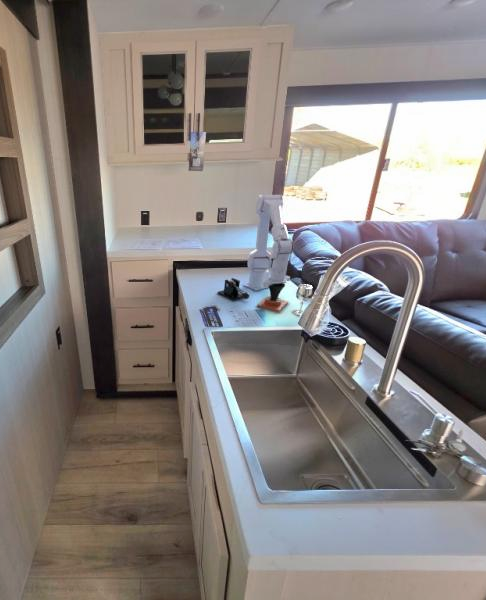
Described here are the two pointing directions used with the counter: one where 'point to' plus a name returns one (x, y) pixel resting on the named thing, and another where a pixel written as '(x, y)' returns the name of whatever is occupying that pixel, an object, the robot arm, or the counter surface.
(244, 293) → the lever
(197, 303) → the counter surface
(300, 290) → the wineglass
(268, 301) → the block
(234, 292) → the bracket
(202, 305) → the counter surface
